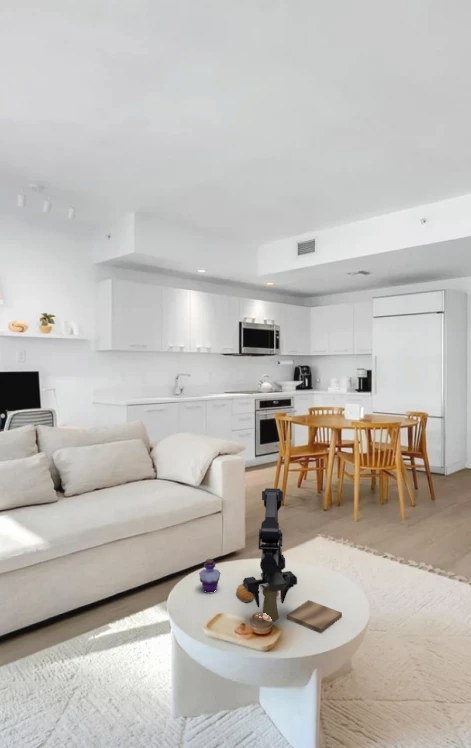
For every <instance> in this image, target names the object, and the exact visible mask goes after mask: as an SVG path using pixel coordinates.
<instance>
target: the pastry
mask: <svg viewBox="0 0 471 748" xmlns="http://www.w3.org/2000/svg"><path fill="white" fill-rule="evenodd" d="M235 593H236V596H237V598H238V599H239V600H240V601H241V602H243V603H246V602H252V601H253V599H254V596H253V594H252V593H251V592H248V591H247V590H246V589H245V587H244V586H243V583H242V584H239V585H238V586H237V588H236V592H235Z"/></svg>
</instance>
